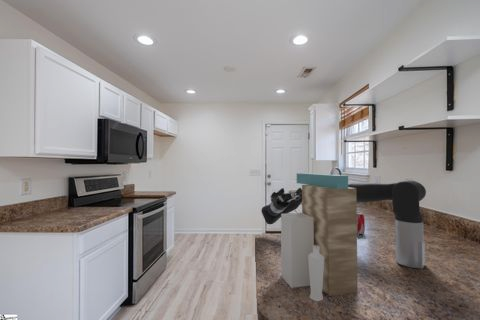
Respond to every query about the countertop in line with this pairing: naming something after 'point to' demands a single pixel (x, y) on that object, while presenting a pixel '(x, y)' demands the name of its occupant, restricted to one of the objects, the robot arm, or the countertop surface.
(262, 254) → the countertop surface
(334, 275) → the maple stand
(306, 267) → the white block
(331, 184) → the teal bar
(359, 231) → the soda can
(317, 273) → the perfume bottle
